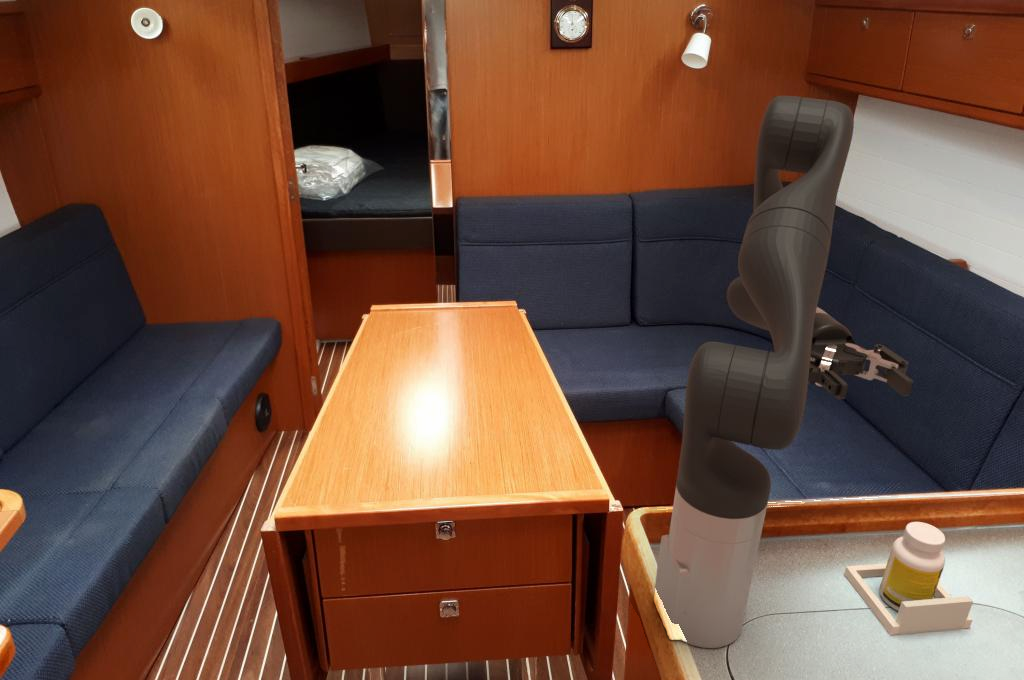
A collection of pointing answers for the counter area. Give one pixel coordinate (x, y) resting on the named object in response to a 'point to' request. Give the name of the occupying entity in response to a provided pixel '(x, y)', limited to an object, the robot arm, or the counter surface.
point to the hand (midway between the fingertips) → (876, 391)
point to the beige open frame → (912, 606)
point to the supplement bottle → (913, 565)
